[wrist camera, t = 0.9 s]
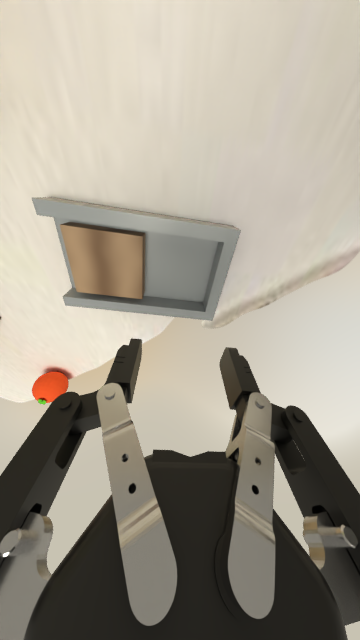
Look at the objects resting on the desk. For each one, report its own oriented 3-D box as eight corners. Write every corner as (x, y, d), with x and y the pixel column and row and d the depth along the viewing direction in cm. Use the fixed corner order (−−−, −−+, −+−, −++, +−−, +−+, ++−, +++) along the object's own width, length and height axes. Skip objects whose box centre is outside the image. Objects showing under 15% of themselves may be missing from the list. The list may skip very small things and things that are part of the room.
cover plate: (145, 232, 24) (142, 236, 22) (144, 291, 29) (142, 299, 27) (70, 221, 23) (59, 224, 21) (83, 284, 28) (76, 291, 26)
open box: (233, 225, 24) (240, 230, 21) (209, 309, 32) (212, 320, 29) (50, 197, 21) (31, 197, 19) (75, 294, 30) (65, 305, 27)
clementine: (70, 386, 47) (56, 413, 41) (42, 379, 45) (23, 406, 39) (76, 370, 43) (60, 398, 37) (45, 362, 41) (23, 390, 35)
